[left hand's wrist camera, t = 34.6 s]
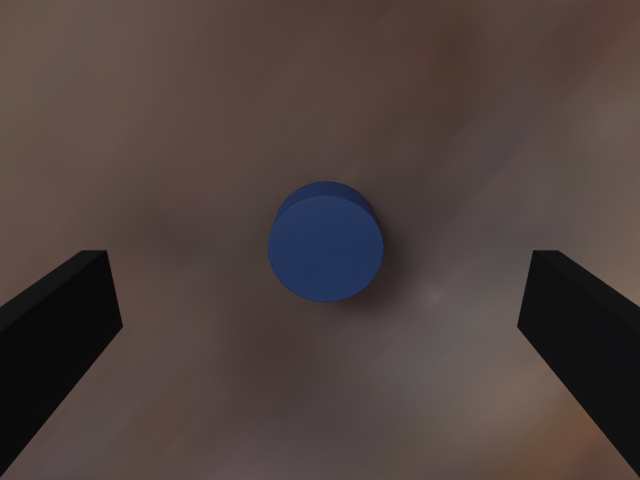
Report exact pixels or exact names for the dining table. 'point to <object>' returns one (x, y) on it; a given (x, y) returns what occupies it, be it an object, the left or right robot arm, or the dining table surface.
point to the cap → (325, 242)
